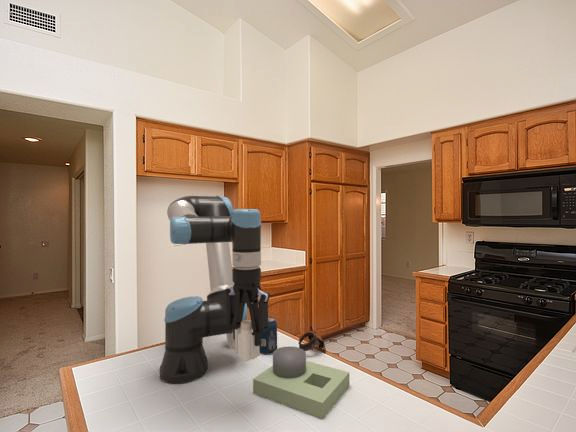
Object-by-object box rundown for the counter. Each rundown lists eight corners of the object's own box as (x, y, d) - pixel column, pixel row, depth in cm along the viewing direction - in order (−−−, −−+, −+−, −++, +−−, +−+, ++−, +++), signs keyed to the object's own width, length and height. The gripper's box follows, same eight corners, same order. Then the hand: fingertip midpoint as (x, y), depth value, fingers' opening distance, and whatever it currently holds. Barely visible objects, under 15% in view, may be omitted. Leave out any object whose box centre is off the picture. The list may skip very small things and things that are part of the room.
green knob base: (253, 393, 90) (252, 361, 90) (287, 367, 105) (286, 340, 105) (322, 419, 78) (322, 382, 78) (349, 385, 93) (349, 355, 93)
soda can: (264, 346, 123) (264, 315, 123) (280, 349, 120) (280, 317, 120) (255, 352, 116) (254, 320, 117) (271, 356, 113) (271, 323, 113)
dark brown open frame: (329, 358, 113) (318, 340, 111) (305, 368, 114) (295, 350, 113) (326, 337, 124) (316, 320, 123) (305, 346, 126) (295, 330, 124)
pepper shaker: (236, 356, 84) (236, 321, 84) (249, 352, 86) (249, 318, 86) (244, 362, 81) (244, 325, 81) (257, 358, 83) (257, 322, 83)
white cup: (250, 343, 125) (250, 318, 125) (237, 351, 118) (236, 324, 118) (235, 339, 129) (235, 315, 129) (221, 346, 123) (221, 320, 123)
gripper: (212, 266, 85) (212, 352, 85) (265, 272, 75) (265, 369, 76) (231, 262, 91) (231, 342, 91) (282, 268, 82) (282, 357, 82)
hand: (247, 354), depth 83 cm, fingers closed on pepper shaker, 5 cm apart
